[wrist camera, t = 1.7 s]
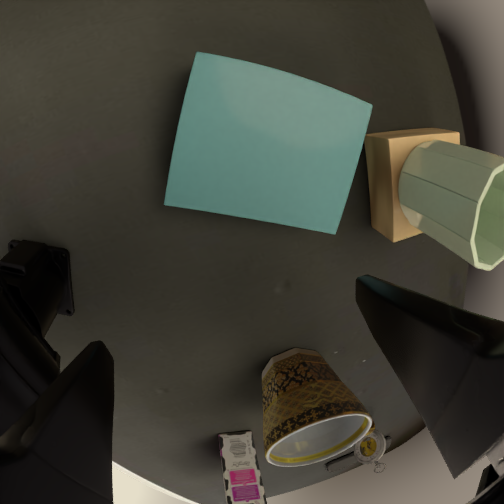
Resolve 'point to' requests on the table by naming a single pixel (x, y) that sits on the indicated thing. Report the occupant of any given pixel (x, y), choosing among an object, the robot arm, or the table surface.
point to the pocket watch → (371, 449)
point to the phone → (349, 459)
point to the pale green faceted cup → (456, 199)
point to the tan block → (394, 175)
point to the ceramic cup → (308, 410)
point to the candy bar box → (241, 469)
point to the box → (265, 145)
